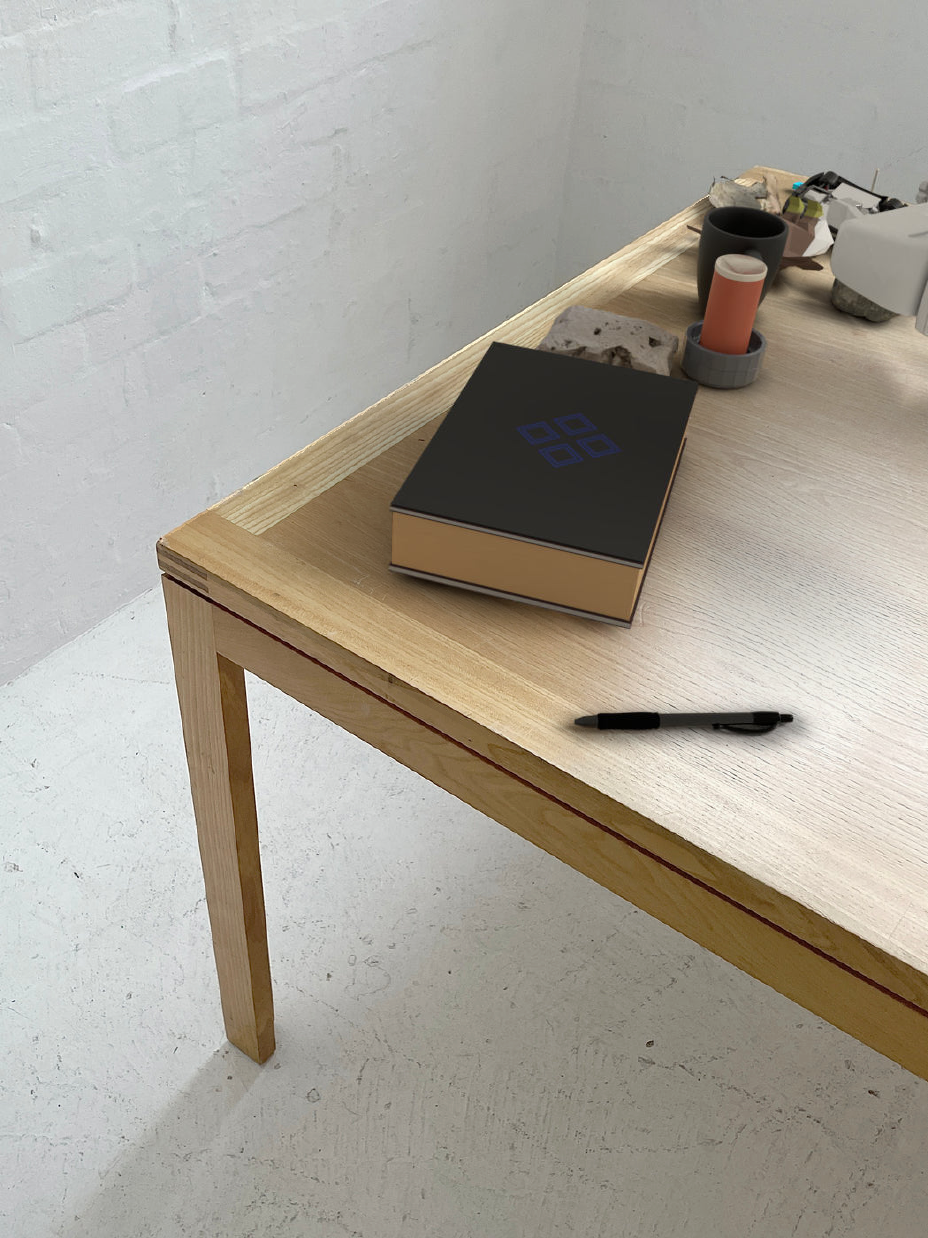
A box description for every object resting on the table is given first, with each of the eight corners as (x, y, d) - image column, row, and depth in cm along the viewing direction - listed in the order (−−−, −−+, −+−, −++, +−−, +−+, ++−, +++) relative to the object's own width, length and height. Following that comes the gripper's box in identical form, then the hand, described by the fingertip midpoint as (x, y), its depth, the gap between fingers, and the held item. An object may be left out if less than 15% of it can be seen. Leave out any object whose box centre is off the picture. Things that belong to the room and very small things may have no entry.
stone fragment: (690, 240, 130) (705, 277, 132) (760, 216, 125) (775, 255, 128) (717, 163, 142) (731, 199, 144) (782, 139, 137) (795, 176, 140)
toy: (886, 292, 122) (906, 228, 117) (763, 312, 116) (780, 246, 112) (796, 235, 132) (812, 174, 128) (680, 251, 127) (692, 188, 122)
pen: (799, 728, 70) (793, 738, 71) (793, 705, 71) (787, 715, 72) (578, 732, 69) (575, 742, 70) (575, 709, 70) (572, 718, 71)
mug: (689, 345, 110) (709, 250, 103) (683, 291, 119) (701, 201, 112) (774, 353, 109) (799, 259, 103) (762, 299, 118) (784, 209, 112)
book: (387, 579, 80) (389, 502, 76) (486, 410, 98) (492, 340, 94) (628, 638, 77) (644, 561, 72) (684, 451, 95) (699, 381, 91)
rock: (872, 342, 114) (893, 297, 110) (806, 291, 119) (824, 247, 116) (952, 324, 119) (975, 281, 116) (886, 277, 125) (906, 234, 121)
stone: (682, 407, 100) (674, 357, 108) (688, 345, 96) (679, 299, 104) (533, 406, 101) (535, 358, 109) (533, 346, 97) (535, 300, 105)
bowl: (750, 354, 109) (758, 321, 107) (765, 393, 103) (774, 359, 101) (674, 350, 109) (681, 316, 106) (684, 389, 103) (692, 354, 101)
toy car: (923, 209, 126) (921, 238, 129) (815, 163, 134) (816, 191, 137) (878, 252, 125) (878, 280, 128) (772, 203, 133) (775, 230, 136)
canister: (737, 356, 107) (762, 255, 101) (746, 380, 104) (772, 277, 97) (690, 354, 107) (712, 252, 101) (697, 377, 104) (720, 274, 97)
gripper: (1147, 201, 78) (988, 137, 87) (944, 253, 70) (791, 176, 79) (1108, 287, 83) (960, 217, 91) (912, 345, 74) (770, 262, 83)
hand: (880, 198), depth 85 cm, fingers open, 8 cm apart
